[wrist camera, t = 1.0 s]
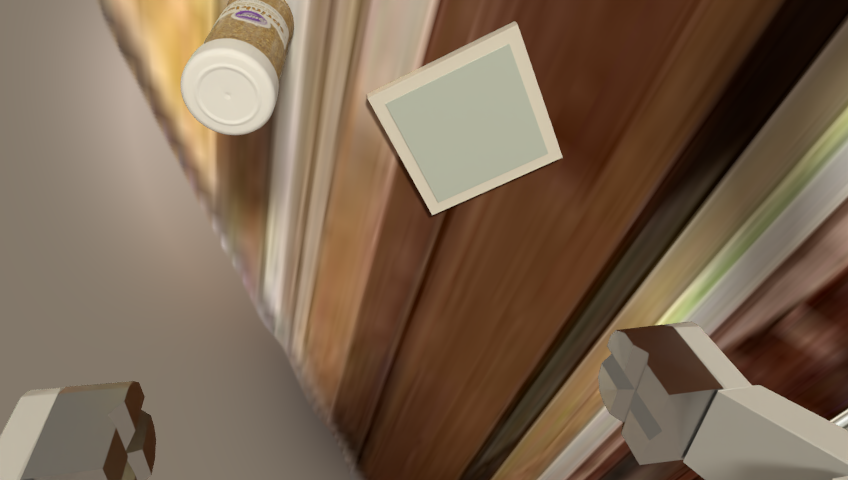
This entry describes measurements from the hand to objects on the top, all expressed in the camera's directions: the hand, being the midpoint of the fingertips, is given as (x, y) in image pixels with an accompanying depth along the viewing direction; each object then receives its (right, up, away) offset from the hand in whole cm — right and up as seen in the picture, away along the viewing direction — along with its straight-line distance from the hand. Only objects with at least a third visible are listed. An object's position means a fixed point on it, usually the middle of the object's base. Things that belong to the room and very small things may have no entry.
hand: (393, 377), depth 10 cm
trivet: (+4, +12, +35) cm, 37 cm away
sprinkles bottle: (-11, +18, +29) cm, 35 cm away
